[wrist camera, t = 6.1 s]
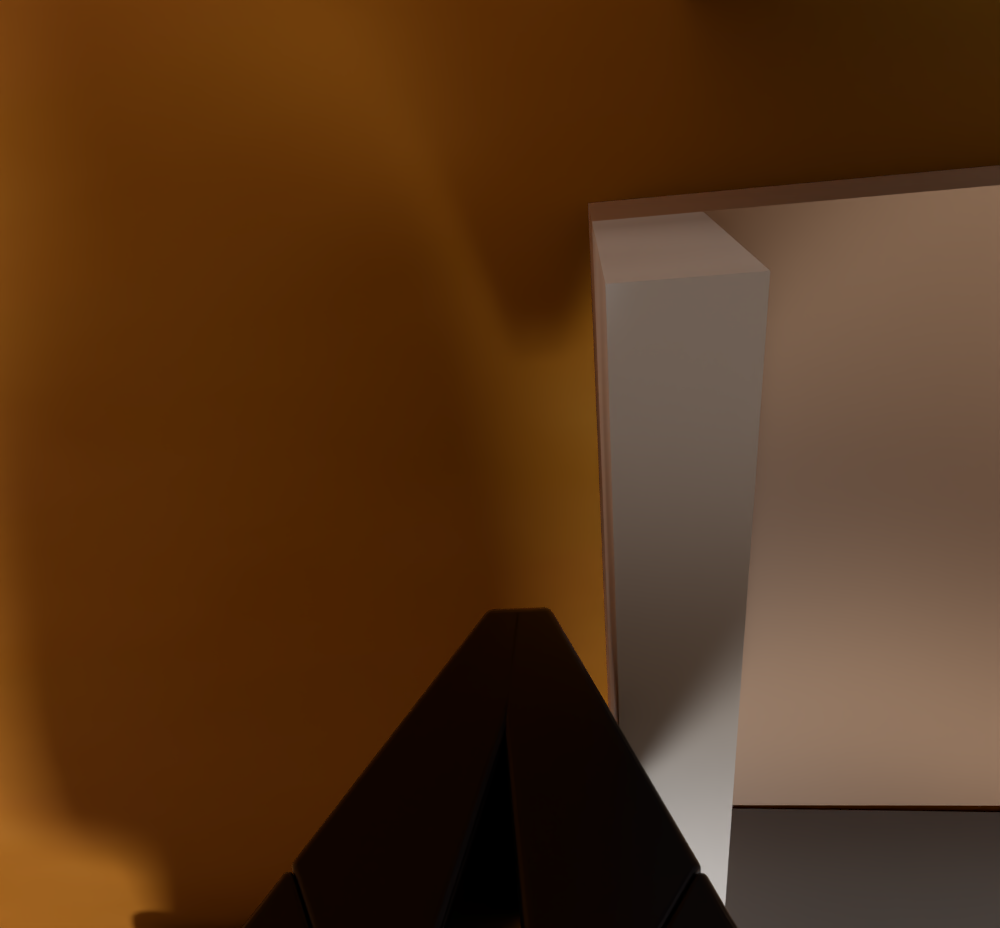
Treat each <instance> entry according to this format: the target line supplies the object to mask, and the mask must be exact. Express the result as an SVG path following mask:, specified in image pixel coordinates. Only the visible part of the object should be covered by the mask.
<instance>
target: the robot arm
mask: <svg viewBox="0 0 1000 928" xmlns="http://www.w3.org/2000/svg"><path fill="white" fill-rule="evenodd" d="M292 871H293V874H292V873H291V872H286V873H284V874H283V876H282V877H281V878H280V879H279V881H278V882H277V883H276V885H275V886H274V887H273V889H272V890H271V891H270V893H269V894H268V895H267V896H266V898H265V899H264V900H263V902H262V903H261V904H260V905H259V907H258V908H257V909H256V911H255V912H254V913H253V914H252V916H251V917H250V918H249V919H248V921H247V922H246V923H245V924H244V925H243V927H242V928H738V927H737V925H736V924H735V922H734V921H733V919H732V917H731V916H730V914H729V912H728V910H727V909H726V907H725V905H724V904H723V902H722V900H721V898H720V897H719V895H718V893H717V892H716V890H715V888H714V886H713V885H712V883H711V881H710V880H709V878H708V876H707V875H706V874H704V873H701V866H700V863H699V862H698V860H697V858H696V857H695V855H694V853H693V852H692V850H691V848H690V846H689V845H688V843H687V841H686V840H685V838H684V836H683V834H682V833H681V831H680V829H679V828H678V826H677V824H676V822H675V821H674V819H673V817H672V816H671V814H670V812H669V810H668V809H667V807H666V805H665V804H664V802H663V800H662V798H661V797H660V795H659V793H658V792H657V790H656V788H655V786H654V785H653V783H652V781H651V780H650V778H649V776H648V775H647V773H646V771H645V769H644V768H643V766H642V764H641V763H640V761H639V759H638V757H637V756H636V754H635V752H634V751H633V749H632V747H631V745H630V744H629V742H628V740H627V739H626V737H625V735H624V733H623V732H622V730H621V728H620V727H619V725H618V723H617V721H616V720H615V718H614V716H613V715H612V713H611V711H610V709H609V708H608V706H607V704H606V703H605V701H604V699H603V698H602V696H601V694H600V692H599V691H598V689H597V687H596V686H595V684H594V682H593V680H592V679H591V677H590V675H589V674H588V672H587V670H586V668H585V667H584V665H583V663H582V662H581V660H580V658H579V656H578V655H577V653H576V651H575V650H574V648H573V646H572V644H571V643H570V641H569V639H568V638H567V636H566V634H565V633H564V631H563V629H562V627H561V626H560V624H559V622H558V621H557V619H556V617H555V615H554V614H553V612H552V611H551V610H550V609H548V608H545V607H542V608H514V609H493V610H490V611H488V612H487V613H486V614H485V615H484V616H483V617H482V619H481V620H480V621H479V623H478V624H477V625H476V627H475V628H474V629H473V630H472V632H471V633H470V634H469V636H468V637H467V638H466V639H465V641H464V642H463V643H462V645H461V646H460V647H459V649H458V650H457V651H456V652H455V654H454V655H453V656H452V658H451V659H450V660H449V661H448V663H447V664H446V665H445V667H444V668H443V669H442V671H441V672H440V673H439V674H438V676H437V677H436V678H435V680H434V681H433V682H432V683H431V685H430V686H429V687H428V689H427V690H426V691H425V693H424V694H423V695H422V696H421V698H420V699H419V700H418V702H417V703H416V704H415V705H414V707H413V708H412V709H411V711H410V712H409V713H408V715H407V716H406V717H405V718H404V720H403V721H402V722H401V724H400V725H399V726H398V727H397V729H396V730H395V731H394V733H393V734H392V735H391V737H390V738H389V739H388V740H387V742H386V743H385V744H384V746H383V747H382V748H381V749H380V751H379V752H378V753H377V755H376V756H375V757H374V759H373V760H372V761H371V762H370V764H369V765H368V766H367V768H366V769H365V770H364V771H363V773H362V774H361V775H360V777H359V778H358V779H357V781H356V782H355V783H354V784H353V786H352V787H351V788H350V790H349V791H348V792H347V793H346V795H345V796H344V797H343V799H342V800H341V801H340V803H339V804H338V805H337V806H336V808H335V809H334V810H333V812H332V813H331V814H330V815H329V817H328V818H327V819H326V821H325V822H324V823H323V825H322V826H321V827H320V828H319V830H318V831H317V832H316V834H315V835H314V836H313V837H312V839H311V840H310V841H309V843H308V844H307V845H306V847H305V848H304V849H303V850H302V852H301V853H300V854H299V856H298V857H297V858H296V860H295V861H294V862H293V864H292Z"/></svg>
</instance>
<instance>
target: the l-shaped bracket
mask: <svg viewBox="0 0 1000 928" xmlns="http://www.w3.org/2000/svg"><path fill="white" fill-rule="evenodd" d="M588 214H589V239H590V263H591V288H592V312H593V337H594V361H595V386H596V411H597V435H598V460H599V484H600V509H601V533H602V558H603V582H604V607H605V631H606V656H607V680H608V705H609V709H610V711H611V713H612V715H613V716H614V718H615V720H616V721H617V723H618V725H619V727H620V728H621V730H622V732H623V733H624V735H625V737H626V739H627V740H628V742H629V744H630V745H631V747H632V749H633V751H634V752H635V754H636V756H637V757H638V759H639V761H640V763H641V764H642V766H643V768H644V769H645V771H646V773H647V775H648V776H649V778H650V780H651V781H652V783H653V785H654V786H655V788H656V790H657V792H658V793H659V795H660V797H661V798H662V800H663V802H664V804H665V805H666V807H667V809H668V810H669V812H670V814H671V816H672V817H673V819H674V821H675V822H676V824H677V826H678V828H679V829H680V831H681V833H682V834H683V836H684V838H685V840H686V841H687V843H688V845H689V846H690V848H691V850H692V852H693V853H694V855H695V857H696V858H697V860H698V862H699V863H700V866H701V873H704V874H706V875H707V876H708V878H709V880H710V881H711V883H712V885H713V886H714V888H715V890H716V892H717V893H718V895H719V897H720V898H721V900H722V902H723V904H724V905H725V901H726V886H727V872H728V858H729V844H730V830H731V816H732V805H953V806H1000V165H996V166H985V167H974V168H963V169H952V170H942V171H931V172H920V173H909V174H898V175H887V176H877V177H866V178H855V179H844V180H833V181H822V182H811V183H801V184H790V185H779V186H768V187H757V188H746V189H735V190H725V191H714V192H703V193H692V194H681V195H670V196H660V197H649V198H638V199H627V200H616V201H605V202H594V203H588Z"/></svg>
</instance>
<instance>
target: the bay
mask: <svg viewBox="0 0 1000 928" xmlns="http://www.w3.org/2000/svg"><path fill="white" fill-rule="evenodd" d="M725 907H726V909H727V910H728V912H729V914H730V916H731V917H732V919H733V921H734V922H735V924H736V925H737V927H738V928H1000V812H952V811H879V810H806V809H733V808H732V816H731V830H730V844H729V858H728V872H727V886H726V901H725Z"/></svg>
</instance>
